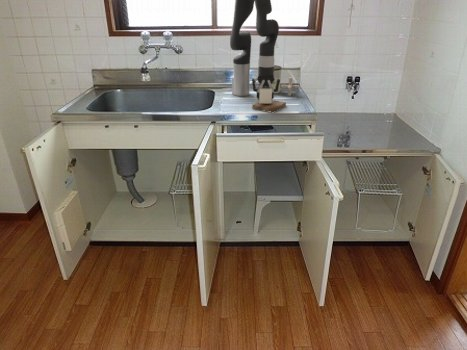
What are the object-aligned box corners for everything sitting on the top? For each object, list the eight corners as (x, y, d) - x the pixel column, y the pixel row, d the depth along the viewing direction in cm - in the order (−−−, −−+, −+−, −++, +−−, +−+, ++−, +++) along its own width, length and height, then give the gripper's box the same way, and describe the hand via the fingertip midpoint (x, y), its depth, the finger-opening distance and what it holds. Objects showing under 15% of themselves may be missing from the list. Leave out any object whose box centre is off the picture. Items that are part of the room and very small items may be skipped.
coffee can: (261, 93, 199) (262, 68, 193) (263, 89, 208) (263, 64, 202) (279, 94, 198) (281, 68, 191) (280, 89, 207) (281, 65, 200)
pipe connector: (298, 98, 190) (299, 79, 185) (279, 97, 191) (280, 79, 187) (298, 93, 198) (300, 75, 194) (281, 92, 200) (282, 75, 195)
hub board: (252, 108, 174) (252, 104, 173) (265, 102, 183) (265, 98, 182) (273, 112, 167) (273, 108, 166) (285, 106, 177) (286, 102, 176)
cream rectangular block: (259, 103, 172) (259, 88, 168) (258, 100, 177) (259, 85, 173) (271, 103, 171) (272, 88, 168) (270, 100, 177) (271, 85, 173)
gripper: (251, 66, 163) (251, 101, 170) (282, 66, 162) (280, 101, 170) (251, 63, 169) (250, 97, 177) (280, 63, 169) (278, 97, 177)
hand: (265, 99), depth 174 cm, fingers closed on cream rectangular block, 5 cm apart
